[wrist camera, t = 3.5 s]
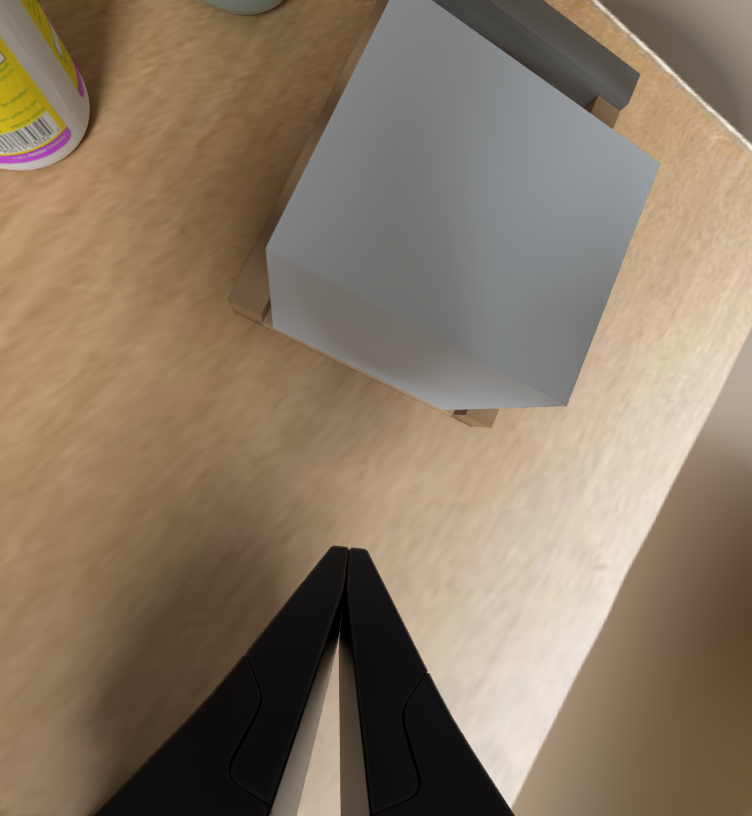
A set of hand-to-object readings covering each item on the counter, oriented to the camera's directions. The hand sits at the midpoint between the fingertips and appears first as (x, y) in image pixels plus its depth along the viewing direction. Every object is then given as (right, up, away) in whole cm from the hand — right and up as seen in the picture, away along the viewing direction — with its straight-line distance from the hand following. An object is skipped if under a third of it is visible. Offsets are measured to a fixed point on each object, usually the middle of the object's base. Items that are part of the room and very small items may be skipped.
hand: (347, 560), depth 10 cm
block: (+2, +10, +12) cm, 16 cm away
